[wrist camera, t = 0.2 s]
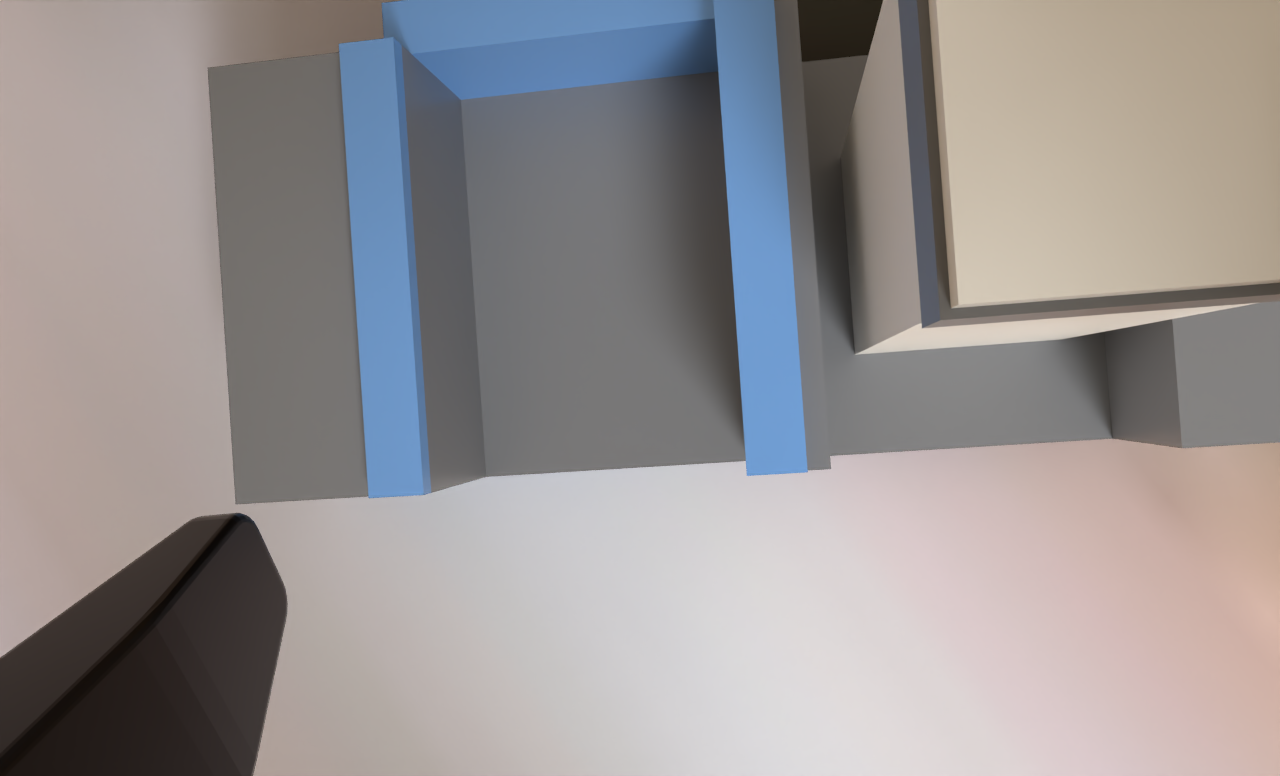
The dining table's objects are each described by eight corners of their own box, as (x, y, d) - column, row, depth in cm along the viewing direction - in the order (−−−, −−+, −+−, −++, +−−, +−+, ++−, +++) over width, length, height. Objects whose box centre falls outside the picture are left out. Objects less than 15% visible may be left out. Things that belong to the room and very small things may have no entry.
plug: (1051, 131, 20) (1438, -237, 8) (1067, 344, 20) (1479, 275, 8) (835, 152, 21) (912, -165, 9) (850, 359, 21) (948, 317, 9)
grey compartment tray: (1256, -23, 21) (1401, -149, 16) (1290, 424, 21) (1447, 434, 16) (313, 85, 23) (191, 5, 19) (339, 483, 23) (224, 506, 18)
